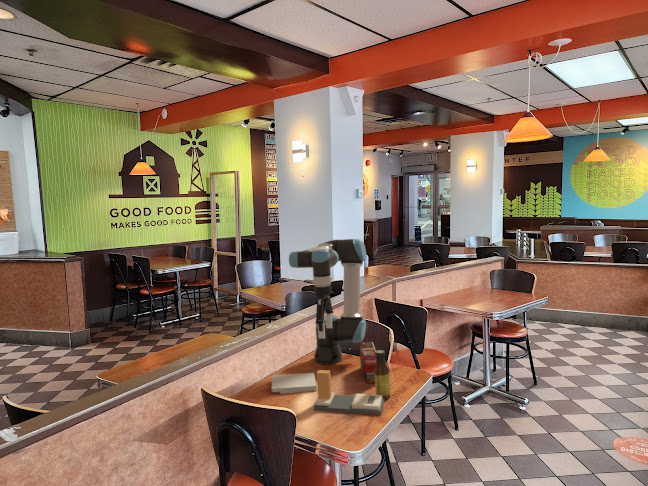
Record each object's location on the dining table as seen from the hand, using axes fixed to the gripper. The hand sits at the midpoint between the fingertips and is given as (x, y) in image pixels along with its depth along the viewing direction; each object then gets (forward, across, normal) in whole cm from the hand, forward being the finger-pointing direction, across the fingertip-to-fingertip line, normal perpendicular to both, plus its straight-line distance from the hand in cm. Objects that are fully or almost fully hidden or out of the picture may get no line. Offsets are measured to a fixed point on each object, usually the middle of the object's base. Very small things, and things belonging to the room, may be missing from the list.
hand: (325, 332), depth 188 cm
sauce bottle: (+28, -1, -24) cm, 36 cm away
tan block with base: (+25, -11, -1) cm, 28 cm away
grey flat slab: (+28, +5, +18) cm, 34 cm away
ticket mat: (+27, -11, -11) cm, 31 cm away
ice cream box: (+28, +21, -15) cm, 38 cm away
